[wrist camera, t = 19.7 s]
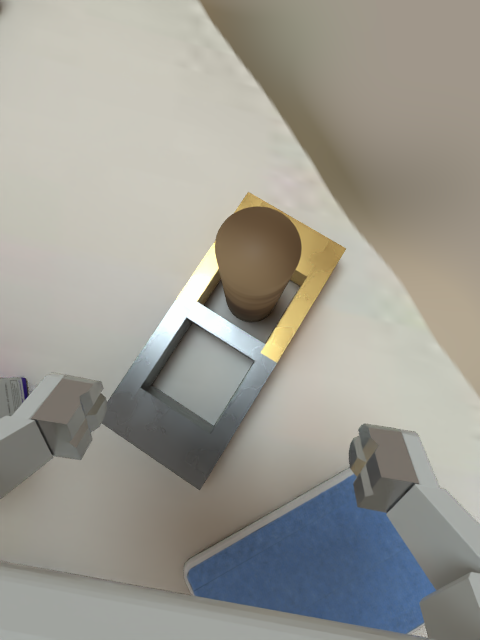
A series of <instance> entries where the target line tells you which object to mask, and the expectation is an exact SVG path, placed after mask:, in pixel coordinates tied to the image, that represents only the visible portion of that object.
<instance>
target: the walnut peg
mask: <svg viewBox="0 0 480 640" xmlns="http://www.w3.org/2000/svg"><path fill="white" fill-rule="evenodd" d="M301 251H302V245H301V239H300V235H299V233H298V231H297V229H296V227H295V225H294V224H293V223H292V222H291V220H290V219H289V218H288V217H286V216H285V215H284V214H282V213H281V212H279V211H277V210H274V209H271V208H268V207H260V206H256V207H248V208H244V209H242V210H239V211H237V212H235V213H234V214H232V215H231V216H230V217H228V218H227V219H226V220H225V222H224V223H223V224H222V225H221V227H220V229H219V231H218V233H217V236H216V240H215V255H216V260H217V264H218V268H219V272H220V276H221V280H222V285H223V289H224V293H225V297H226V301H227V305H228V307H229V309H230V311H231V312H232V313H233V315H235V316H236V317H237V318H239V319H241V320H243V321H247V322H255V321H259V320H262V319H264V318H265V317H267V316H268V315H269V314H270V313H271V311H272V310H273V308H274V306H275V305H276V303H277V301H278V299H279V298H280V296H281V294H282V292H283V291H284V289H285V287H286V285H287V284H288V282H289V280H290V278H291V277H292V275H293V273H294V271H295V270H296V268H297V266H298V264H299V261H300V258H301Z"/></svg>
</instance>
